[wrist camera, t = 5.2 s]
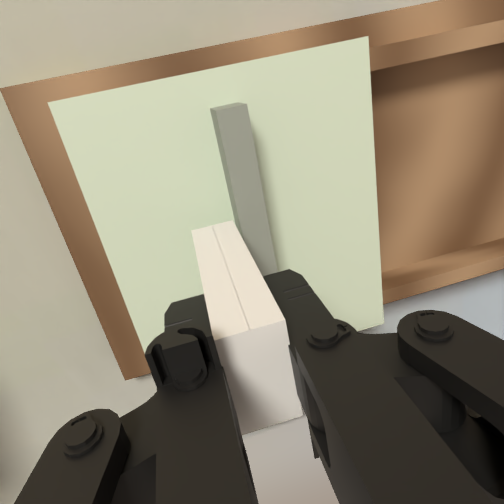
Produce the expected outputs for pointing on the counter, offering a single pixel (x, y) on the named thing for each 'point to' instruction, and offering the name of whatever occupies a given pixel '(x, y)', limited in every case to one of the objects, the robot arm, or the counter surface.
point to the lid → (236, 177)
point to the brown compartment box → (385, 144)
